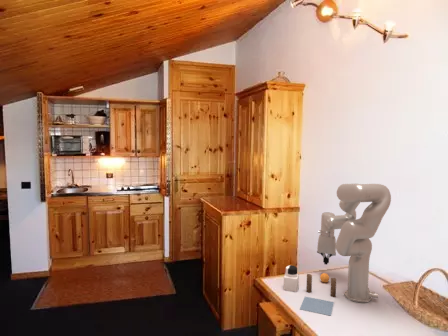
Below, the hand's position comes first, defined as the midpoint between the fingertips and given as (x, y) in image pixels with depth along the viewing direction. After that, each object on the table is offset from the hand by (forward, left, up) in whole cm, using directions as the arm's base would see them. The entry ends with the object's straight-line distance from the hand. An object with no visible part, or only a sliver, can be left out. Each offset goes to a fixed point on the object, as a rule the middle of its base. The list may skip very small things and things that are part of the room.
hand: (325, 263), depth 191 cm
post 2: (-7, +26, -7) cm, 28 cm away
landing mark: (-1, +40, -7) cm, 41 cm away
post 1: (+5, +26, -7) cm, 28 cm away
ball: (-1, +10, -5) cm, 11 cm away
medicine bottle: (+15, +26, -7) cm, 31 cm away
